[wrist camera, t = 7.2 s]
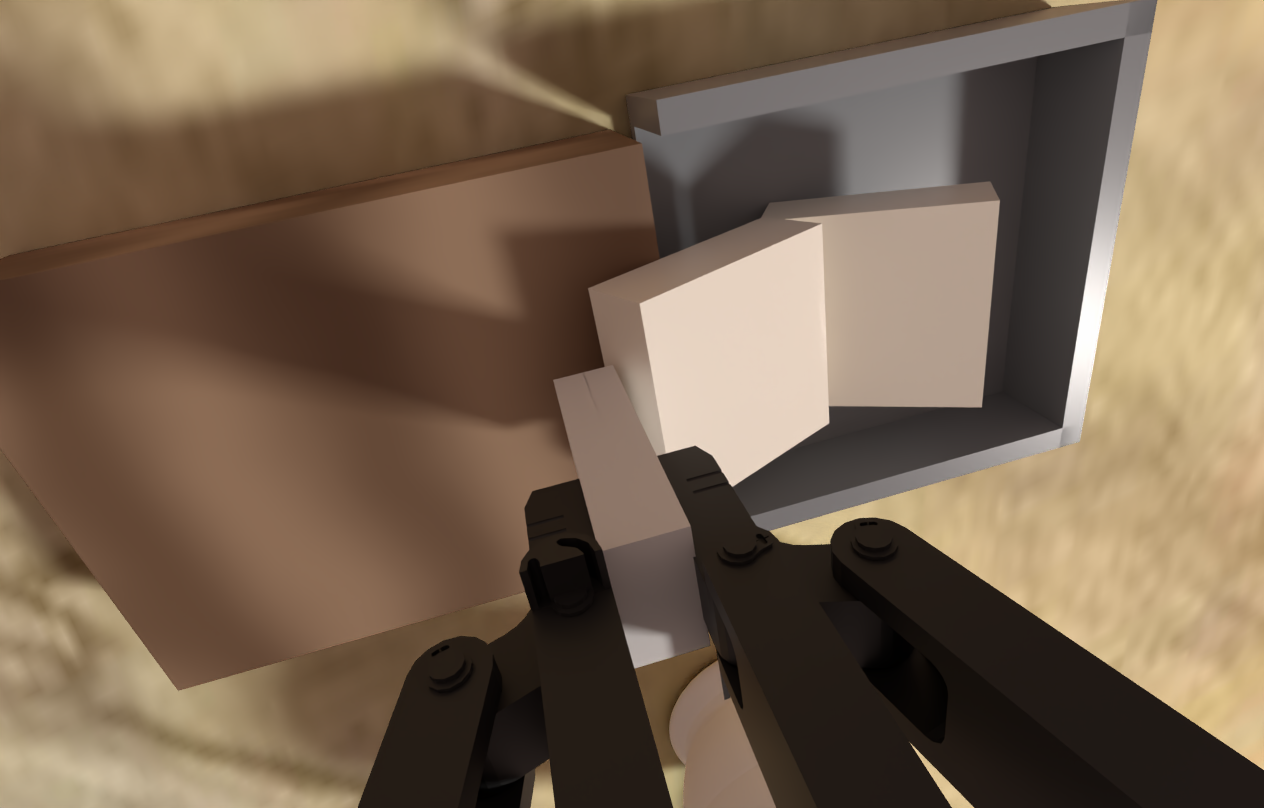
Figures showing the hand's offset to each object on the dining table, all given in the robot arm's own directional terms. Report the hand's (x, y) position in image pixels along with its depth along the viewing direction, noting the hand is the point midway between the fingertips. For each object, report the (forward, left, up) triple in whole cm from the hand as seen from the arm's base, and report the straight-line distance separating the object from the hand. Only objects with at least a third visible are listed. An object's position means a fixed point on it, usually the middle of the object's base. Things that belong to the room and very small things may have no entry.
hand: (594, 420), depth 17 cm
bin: (+10, 0, -6) cm, 11 cm away
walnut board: (-5, 0, -6) cm, 8 cm away
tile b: (+9, 0, -2) cm, 9 cm away
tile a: (+3, 0, -2) cm, 4 cm away
